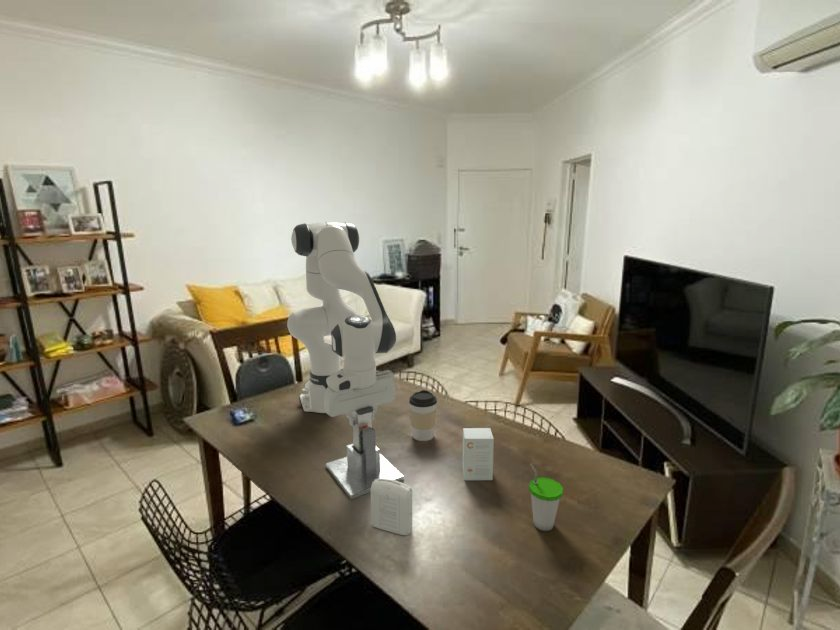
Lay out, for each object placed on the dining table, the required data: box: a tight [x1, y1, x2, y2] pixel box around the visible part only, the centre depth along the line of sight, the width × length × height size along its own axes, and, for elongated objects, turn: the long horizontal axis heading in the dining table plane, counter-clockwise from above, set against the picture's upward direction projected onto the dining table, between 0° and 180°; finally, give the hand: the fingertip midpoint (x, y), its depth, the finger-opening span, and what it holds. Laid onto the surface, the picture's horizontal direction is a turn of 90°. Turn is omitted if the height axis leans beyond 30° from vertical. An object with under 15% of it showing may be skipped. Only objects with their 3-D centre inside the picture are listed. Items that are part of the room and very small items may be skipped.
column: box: [351, 406, 373, 454], centre depth 127 cm, size 6×4×19 cm, turn 32°
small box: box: [462, 427, 495, 481], centre depth 127 cm, size 8×6×13 cm
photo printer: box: [370, 479, 413, 536], centre depth 107 cm, size 10×4×12 cm, turn 69°
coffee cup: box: [408, 389, 438, 442], centre depth 149 cm, size 9×9×15 cm
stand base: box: [325, 427, 405, 500], centre depth 128 cm, size 18×16×16 cm
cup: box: [528, 462, 564, 532], centre depth 107 cm, size 8×8×15 cm
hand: (361, 422), depth 126 cm, fingers closed on column, 4 cm apart
